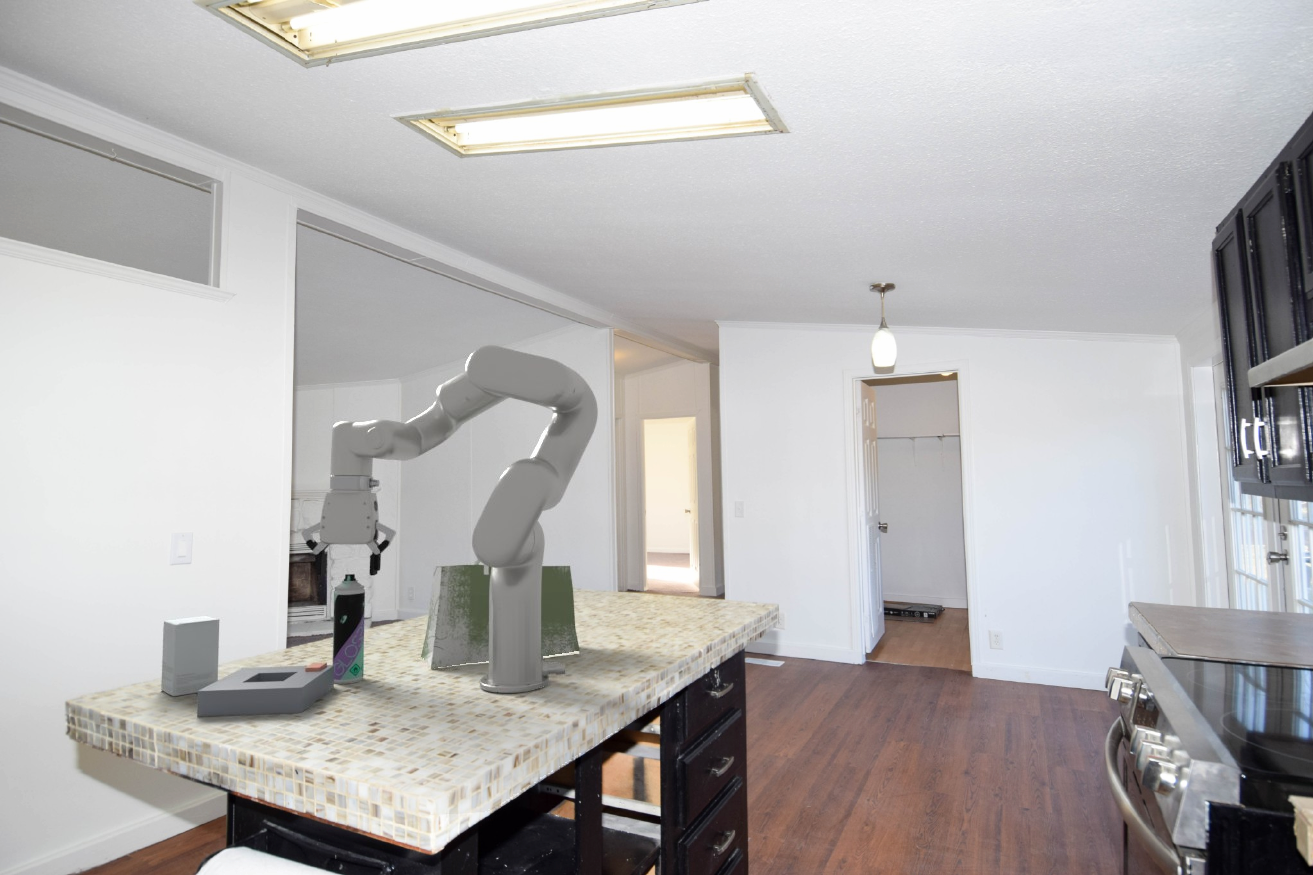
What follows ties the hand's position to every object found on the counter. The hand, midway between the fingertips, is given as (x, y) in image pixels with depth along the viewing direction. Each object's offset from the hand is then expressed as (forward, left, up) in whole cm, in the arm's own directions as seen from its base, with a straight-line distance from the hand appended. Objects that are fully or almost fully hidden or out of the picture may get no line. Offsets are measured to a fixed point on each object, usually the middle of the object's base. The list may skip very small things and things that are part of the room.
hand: (347, 574), depth 144 cm
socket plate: (+9, +13, -20) cm, 25 cm away
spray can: (0, 0, -20) cm, 20 cm away
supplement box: (+27, +3, -20) cm, 33 cm away
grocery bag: (-27, -17, -20) cm, 38 cm away
